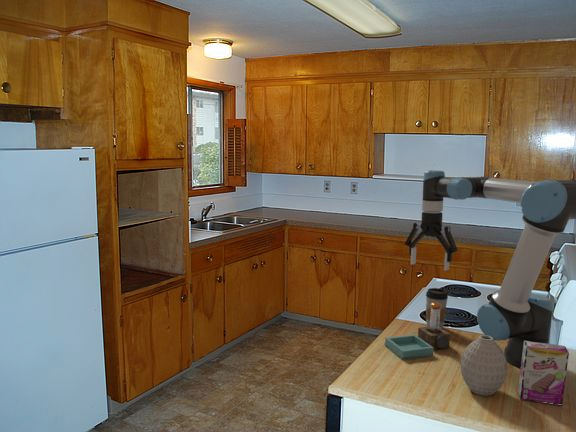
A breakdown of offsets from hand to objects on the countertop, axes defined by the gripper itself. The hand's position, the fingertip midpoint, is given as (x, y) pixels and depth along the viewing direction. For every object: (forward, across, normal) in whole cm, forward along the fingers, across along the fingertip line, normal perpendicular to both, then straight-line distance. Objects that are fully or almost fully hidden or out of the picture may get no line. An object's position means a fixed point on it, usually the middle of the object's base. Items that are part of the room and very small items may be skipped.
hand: (429, 267), depth 194 cm
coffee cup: (+26, -1, -6) cm, 26 cm away
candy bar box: (+27, -48, +26) cm, 61 cm away
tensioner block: (+26, -8, +10) cm, 28 cm away
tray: (+26, -4, +22) cm, 34 cm away
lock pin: (+26, -8, +10) cm, 28 cm away
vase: (+27, -34, +32) cm, 54 cm away
